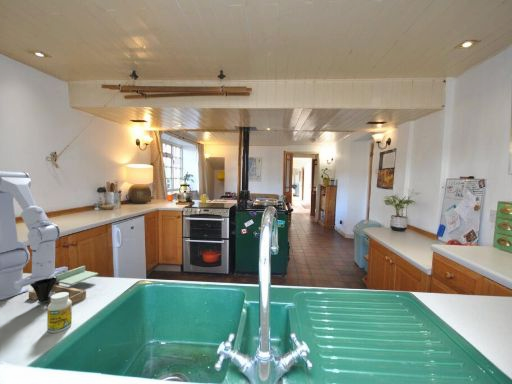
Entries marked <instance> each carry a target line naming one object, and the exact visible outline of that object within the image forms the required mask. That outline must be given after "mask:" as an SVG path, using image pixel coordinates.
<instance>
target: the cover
mask: <svg viewBox="0 0 512 384" xmlns="http://www.w3.org/2000/svg"><path fill="white" fill-rule="evenodd" d="M96 276H99V273H98V272H95V271H88V270H86V265H82V266H78V267H77V268H73V269H70V270H68V272H67V273H62V274H59V275H56V276H55V277H54V278H57V280H56V282H55V283H59V284H63V285H66V286H67V285H68V286H73V285H76V284H79V283H81V282H84V281H85V280H89V279H91V278H93V277H96Z"/></svg>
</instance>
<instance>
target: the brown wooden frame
mask: <svg viewBox="0 0 512 384" xmlns="http://www.w3.org/2000/svg"><path fill="white" fill-rule="evenodd" d="M51 292H55V293H60V292H68V293H69V298H68V299H70V300H71V301H72V305H73V304H75V303H78V302H80V301H82V300H84V299H86V298H87V290H83V289H79V288H75V287H70V286H67V285H61V284H60V283H55V284H54V285H53V287H52V289H51ZM28 299H30V300H34V301H37V300H38V297H37V294H36V292H35V290H34V289H32V290H28ZM38 301H39V300H38Z"/></svg>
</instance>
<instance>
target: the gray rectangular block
mask: <svg viewBox="0 0 512 384" xmlns="http://www.w3.org/2000/svg"><path fill="white" fill-rule="evenodd" d="M54 294H56V293H54V292H51V291H50V293H49V296H48V299H47V301H45V303H48V304H50V303H51V296H52V295H54Z"/></svg>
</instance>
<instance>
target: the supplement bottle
mask: <svg viewBox="0 0 512 384" xmlns="http://www.w3.org/2000/svg"><path fill="white" fill-rule="evenodd" d="M69 297H70V296H69V293H68V292H60V293H56V294H54V295H52V296H51V303H48V306H47V311H46V312H47V317H46V318H47V319H46V321H47V322H46V323H47V324H46V326H47V327H46V329H47V332H48V333H52V334H55V333H60V332H64V331H65V330H68V329H69V328H70V327H71V325H72V317H73V316H72V315H73V313H72V312H73V310H72V309H73V304H72V301H71V300H70V299H68V298H69Z"/></svg>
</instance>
